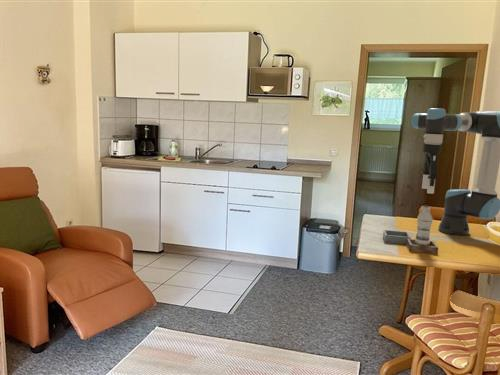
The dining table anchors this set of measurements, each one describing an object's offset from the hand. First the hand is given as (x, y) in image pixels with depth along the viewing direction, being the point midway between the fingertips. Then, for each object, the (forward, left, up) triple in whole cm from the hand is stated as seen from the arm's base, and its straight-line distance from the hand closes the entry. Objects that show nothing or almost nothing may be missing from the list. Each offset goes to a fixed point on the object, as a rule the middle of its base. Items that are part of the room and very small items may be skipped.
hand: (427, 191), depth 201 cm
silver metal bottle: (0, 0, -27) cm, 27 cm away
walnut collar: (0, 0, -27) cm, 27 cm away
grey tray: (+10, -12, -27) cm, 31 cm away
